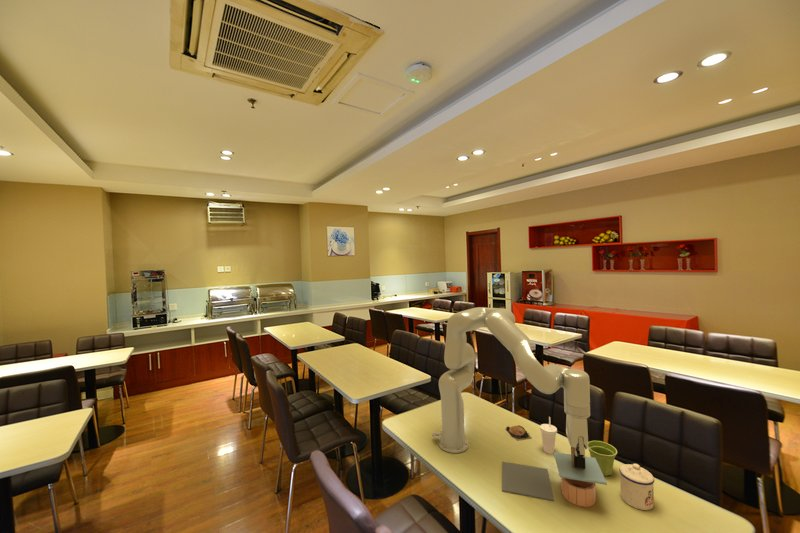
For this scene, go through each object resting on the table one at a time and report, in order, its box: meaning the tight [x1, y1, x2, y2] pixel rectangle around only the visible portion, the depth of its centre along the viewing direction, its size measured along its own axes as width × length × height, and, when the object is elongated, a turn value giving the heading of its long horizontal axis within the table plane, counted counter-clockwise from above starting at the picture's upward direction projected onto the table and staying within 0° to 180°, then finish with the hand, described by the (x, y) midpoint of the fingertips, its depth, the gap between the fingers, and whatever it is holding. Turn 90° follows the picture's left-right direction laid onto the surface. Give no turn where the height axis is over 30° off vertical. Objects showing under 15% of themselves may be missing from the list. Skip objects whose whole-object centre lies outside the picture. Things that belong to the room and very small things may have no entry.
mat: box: [501, 461, 555, 502], centre depth 114 cm, size 16×16×1 cm
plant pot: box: [587, 440, 618, 477], centre depth 118 cm, size 9×9×9 cm
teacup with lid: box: [619, 463, 655, 511], centre depth 104 cm, size 12×9×12 cm
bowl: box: [560, 477, 597, 508], centre depth 106 cm, size 10×10×6 cm
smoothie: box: [539, 416, 558, 455], centre depth 131 cm, size 6×6×14 cm
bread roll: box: [505, 424, 533, 442], centre depth 145 cm, size 11×8×4 cm
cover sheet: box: [553, 445, 608, 486], centre depth 106 cm, size 13×13×7 cm
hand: (578, 462), depth 106 cm, fingers closed on cover sheet, 4 cm apart
